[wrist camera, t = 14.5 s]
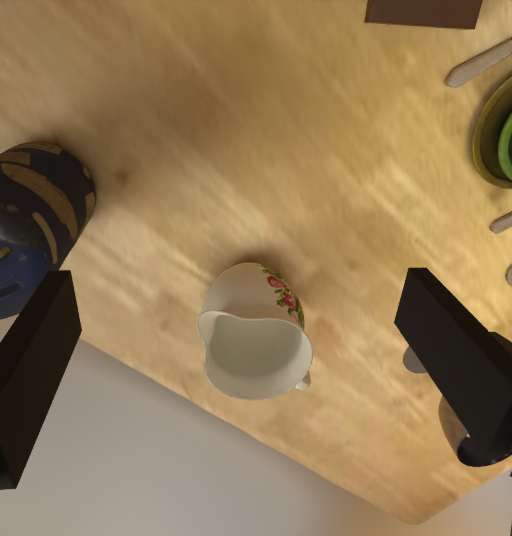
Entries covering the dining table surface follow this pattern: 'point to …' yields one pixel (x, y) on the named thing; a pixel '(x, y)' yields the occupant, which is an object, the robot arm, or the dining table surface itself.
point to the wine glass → (454, 425)
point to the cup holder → (425, 13)
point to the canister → (38, 217)
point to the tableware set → (492, 127)
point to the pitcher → (254, 334)
